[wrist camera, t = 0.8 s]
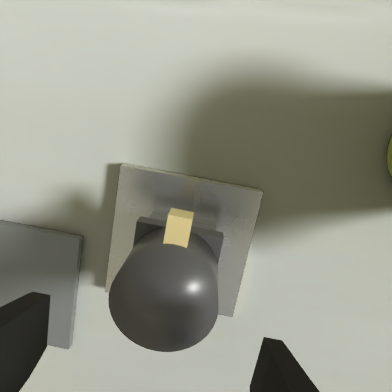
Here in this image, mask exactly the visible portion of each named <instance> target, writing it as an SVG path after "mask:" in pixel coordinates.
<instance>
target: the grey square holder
mask: <svg viewBox="0 0 392 392" xmlns="http://www.w3.org/2000/svg"><path fill="white" fill-rule="evenodd" d="M262 195H263V192H262V190H261V189H256V188H251V187H246V186H240V185H235V184H230V183H225V182H220V181H215V180H209V179H204V178H199V177H194V176H189V175H183V174H178V173H173V172H168V171H163V170H158V169H152V168H147V167H142V166H137V165H132V164H127V163H124V164H122V165H121V166H120V174H119V182H118V190H117V198H116V206H115V214H114V222H113V230H112V238H111V246H110V254H109V262H108V270H107V278H106V286H105V292H108V293H109V291H110V287H111V284H112V282H113V280H114V278H115V276H116V275H117V273H118V271H119V270H120V268H121V267H122V265H123V263H124V262H125V260H126V259H127V257H128V255H129V254H130V252H131V251H132V249H133V243H134V236H135V229H136V222H137V220H138V219H139V217H140V216H142V217H147V218H153V219H158V220H163V221H167V218H168V214H169V212H170V210H171V208H175V209H180V210H185V211H190V212H194V215H193V220H192V225H191V226H194V227H199V228H204V229H209V230H214V231H219V232H223V236H224V239H223V243H222V248H221V252H220V257H219V261H218V314H219V315H224V316H229V317H233V313H234V309H235V305H236V301H237V297H238V292H239V288H240V284H241V280H242V276H243V272H244V268H245V264H246V260H247V256H248V252H249V248H250V244H251V240H252V236H253V232H254V228H255V224H256V220H257V216H258V211H259V207H260V203H261V199H262Z"/></svg>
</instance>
